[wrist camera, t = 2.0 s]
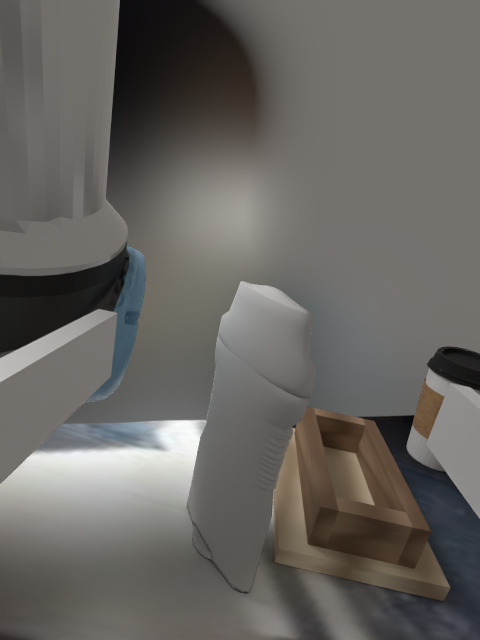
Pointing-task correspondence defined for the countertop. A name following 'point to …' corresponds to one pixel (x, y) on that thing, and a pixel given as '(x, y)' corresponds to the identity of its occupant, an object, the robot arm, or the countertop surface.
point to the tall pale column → (249, 426)
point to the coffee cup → (440, 396)
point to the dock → (351, 509)
